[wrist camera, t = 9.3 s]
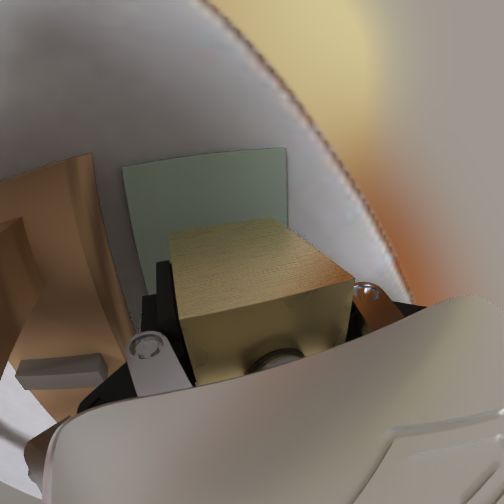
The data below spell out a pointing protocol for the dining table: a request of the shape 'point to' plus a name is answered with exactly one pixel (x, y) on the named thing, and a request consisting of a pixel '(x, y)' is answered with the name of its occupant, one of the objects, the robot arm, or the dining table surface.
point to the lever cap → (255, 297)
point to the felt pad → (201, 197)
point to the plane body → (59, 286)
